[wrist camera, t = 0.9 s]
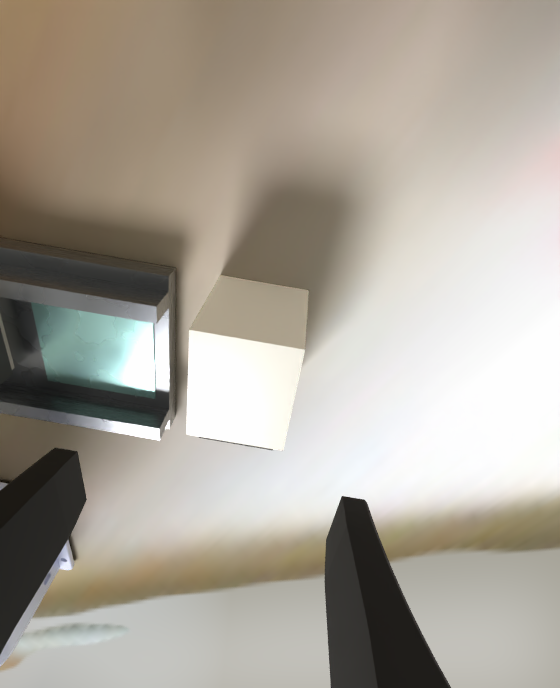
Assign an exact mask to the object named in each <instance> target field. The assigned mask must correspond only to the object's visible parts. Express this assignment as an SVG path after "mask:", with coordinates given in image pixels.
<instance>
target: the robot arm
mask: <svg viewBox="0 0 560 688" xmlns="http://www.w3.org/2000/svg"><path fill="white" fill-rule="evenodd" d="M86 500H87V499H86V494H85V489H84V484H83V478H82V473H81V468H80V463H79V457H78V452H77V451H71V450H65V449H59V448H54V449H53V450H51V451H50V452H49V453H47V454H46V455H45V456H43V457H42V458H41V459H40V460H38V461H37V462H36V463H34V464H33V465H32V466H31V467H29V468H28V469H27V470H26V471H24V472H23V473H22V474H21V475H19V476H18V477H17V478H15V479H14V480H13V481H12V482H10V483H9V484H8V483H3V482H0V666H1V665H2V664H3V663H4V662H5V661H6V660H7V659H8V657H9V656H10V655H11V653H12V652H13V650H14V649H15V647H16V646H17V644H18V642H19V640H20V638H21V637H22V635H23V633H24V631H25V629H26V628H27V626H28V624H29V622H30V620H31V619H32V617H33V615H34V613H35V611H36V610H37V608H38V606H39V604H40V603H41V601H42V599H43V597H44V595H45V594H46V592H47V590H48V588H49V586H50V585H51V583H52V581H53V579H54V577H55V576H56V574H57V572H58V570H59V569H64V570H71V569H72V568H73V566H74V560H73V556H72V552H71V548H70V544H69V540H68V539H69V537H70V535H71V533H72V530H73V528H74V526H75V524H76V522H77V520H78V518H79V515H80V513H81V511H82V509H83V506H84V504H85V502H86ZM325 595H326V613H327V630H328V646H329V663H330V678H331V688H451V687H450V685H449V683H448V681H447V680H446V678H445V676H444V674H443V672H442V671H441V669H440V667H439V665H438V663H437V662H436V660H435V658H434V656H433V654H432V652H431V650H430V648H429V646H428V644H427V643H426V641H425V639H424V637H423V635H422V633H421V631H420V629H419V627H418V625H417V623H416V621H415V618H414V617H413V614H412V612H411V610H410V608H409V606H408V604H407V602H406V599H405V597H404V595H403V593H402V591H401V588H400V587H399V584H398V582H397V579H396V577H395V575H394V573H393V570H392V568H391V566H390V563H389V561H388V558H387V556H386V553H385V551H384V548H383V546H382V543H381V541H380V538H379V536H378V533H377V530H376V528H375V525H374V522H373V519H372V516H371V513H370V510H369V507H368V504H367V502H366V501H365V500H362V499H356V498H350V497H344V496H342V497H341V500H340V503H339V506H338V508H337V511H336V514H335V517H334V520H333V522H332V525H331V528H330V531H329V534H328V536H327V539H326V557H325Z"/></svg>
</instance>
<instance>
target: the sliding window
mask: <svg viewBox="0 0 560 688" xmlns="http://www.w3.org/2000/svg"><path fill="white" fill-rule="evenodd" d="M0 314H1V318H2V322H3V326H4V329H5V333H6V337H7V341H8V344H9V348H10V352H11V356H12V359H13V363H14V367H15V368H14V369H13V370H12V372H13V374H12V375H11V376H10V377H9V378H8V379H6V380H5V381H4V382H3V383H2V384H1V385H0V413H3V414H8V415H14V416H20V417H26V418H32V419H38V420H44V421H49V422H55V423H61V424H67V425H73V426H79V427H85V428H91V429H96V430H102V431H108V432H114V433H120V434H126V435H132V436H137V437H143V438H149V439H155V440H160V439H161V437H162V434H163V432H164V430H165V429H170V427H171V425H172V423H173V420H174V418H175V358H176V268H174V267H168V266H162V265H157V264H151V263H145V262H139V261H133V260H128V259H122V258H116V257H110V256H104V255H99V254H93V253H87V252H81V251H75V250H70V249H64V248H58V247H52V246H46V245H41V244H35V243H29V242H23V241H17V240H12V239H6V238H0Z"/></svg>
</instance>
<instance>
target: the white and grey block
mask: <svg viewBox="0 0 560 688" xmlns="http://www.w3.org/2000/svg"><path fill="white" fill-rule="evenodd" d="M14 368H15V367H14V363H13V359H12V356H11V352H10V348H9V344H8V341H7V337H6V333H5V329H4V326H3V322H2V318H1V314H0V385H1V384H2V383H3V382H4V381H5V380H6V379H8V378H9V377H10V376H11V375H12V374H13V372H12V370H13V369H14Z"/></svg>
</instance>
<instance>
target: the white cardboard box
mask: <svg viewBox="0 0 560 688" xmlns="http://www.w3.org/2000/svg"><path fill="white" fill-rule="evenodd" d="M308 295H309V290H304V289H299V288H293V287H287V286H281V285H275V284H269V283H264V282H258V281H252V280H246V279H240V278H235V277H229V276H223V275H220V277H219V279H218V280H217V282H216V284H215V286H214V287H213V289H212V291H211V293H210V294H209V296H208V298H207V300H206V301H205V303H204V305H203V306H202V308H201V310H200V312H199V313H198V315H197V317H196V319H195V320H194V322H193V324H192V326H191V327H190V329H189V354H188V393H187V431H186V434H187V435H192V436H198V437H199V438H204V439H210V440H216V441H221V442H227V443H233V444H239V445H245V446H251V447H257V448H262V449H268V450H273V449H274V450H280V451H283V449H284V445H285V440H286V435H287V431H288V426H289V422H290V417H291V412H292V408H293V403H294V399H295V394H296V389H297V385H298V380H299V376H300V371H301V366H302V362H303V357H304V353H305V344H306V327H307V311H308Z"/></svg>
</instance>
